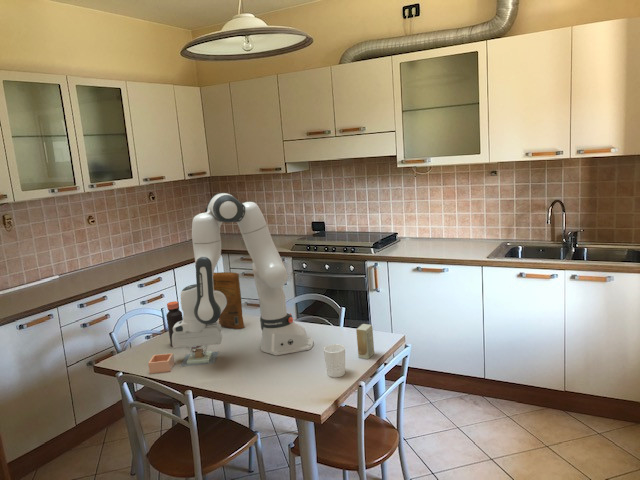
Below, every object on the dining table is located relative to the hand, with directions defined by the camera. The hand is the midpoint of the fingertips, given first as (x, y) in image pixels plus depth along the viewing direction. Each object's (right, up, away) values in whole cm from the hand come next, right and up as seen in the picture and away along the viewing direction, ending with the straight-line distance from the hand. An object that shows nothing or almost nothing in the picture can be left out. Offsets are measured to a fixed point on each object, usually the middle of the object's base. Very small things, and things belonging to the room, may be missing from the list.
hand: (199, 355), depth 217 cm
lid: (0, -1, 0) cm, 2 cm away
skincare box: (+68, +2, -9) cm, 69 cm away
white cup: (+56, -2, -22) cm, 60 cm away
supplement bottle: (-5, 0, +15) cm, 16 cm away
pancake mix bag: (+6, +5, +37) cm, 38 cm away
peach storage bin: (-13, -5, -6) cm, 15 cm away
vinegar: (-14, 0, +19) cm, 23 cm away
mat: (0, -2, 0) cm, 2 cm away
